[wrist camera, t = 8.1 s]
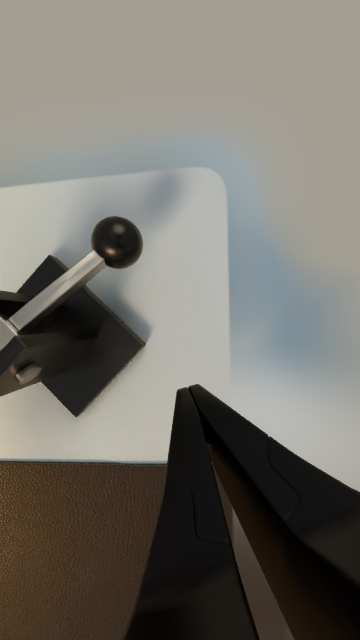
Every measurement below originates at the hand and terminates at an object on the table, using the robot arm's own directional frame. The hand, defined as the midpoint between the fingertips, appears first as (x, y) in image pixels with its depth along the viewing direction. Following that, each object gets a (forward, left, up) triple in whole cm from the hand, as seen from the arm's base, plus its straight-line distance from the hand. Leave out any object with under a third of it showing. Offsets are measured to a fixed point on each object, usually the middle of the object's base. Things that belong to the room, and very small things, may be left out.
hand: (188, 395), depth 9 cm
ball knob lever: (+10, +3, -8) cm, 13 cm away
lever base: (+10, +7, -13) cm, 17 cm away
